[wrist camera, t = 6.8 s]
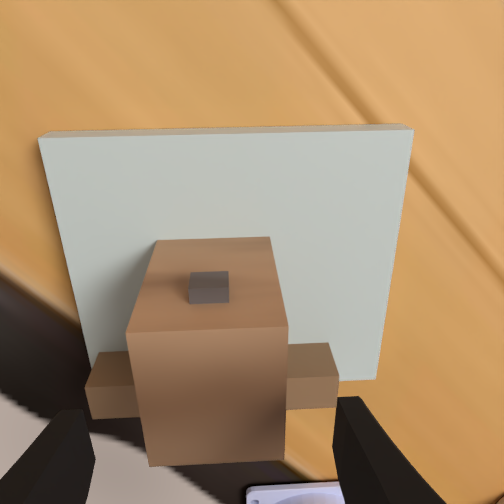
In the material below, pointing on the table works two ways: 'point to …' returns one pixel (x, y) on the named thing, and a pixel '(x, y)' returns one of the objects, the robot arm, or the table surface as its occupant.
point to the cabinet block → (210, 352)
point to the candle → (501, 501)
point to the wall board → (235, 234)
